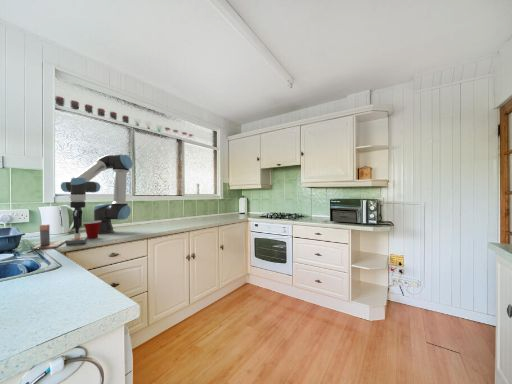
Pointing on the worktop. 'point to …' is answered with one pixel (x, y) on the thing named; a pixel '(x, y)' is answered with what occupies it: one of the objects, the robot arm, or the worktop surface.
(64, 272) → the worktop surface
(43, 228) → the marker
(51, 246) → the picture board
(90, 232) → the plastic cup
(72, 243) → the button housing
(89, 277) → the worktop surface
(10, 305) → the worktop surface
